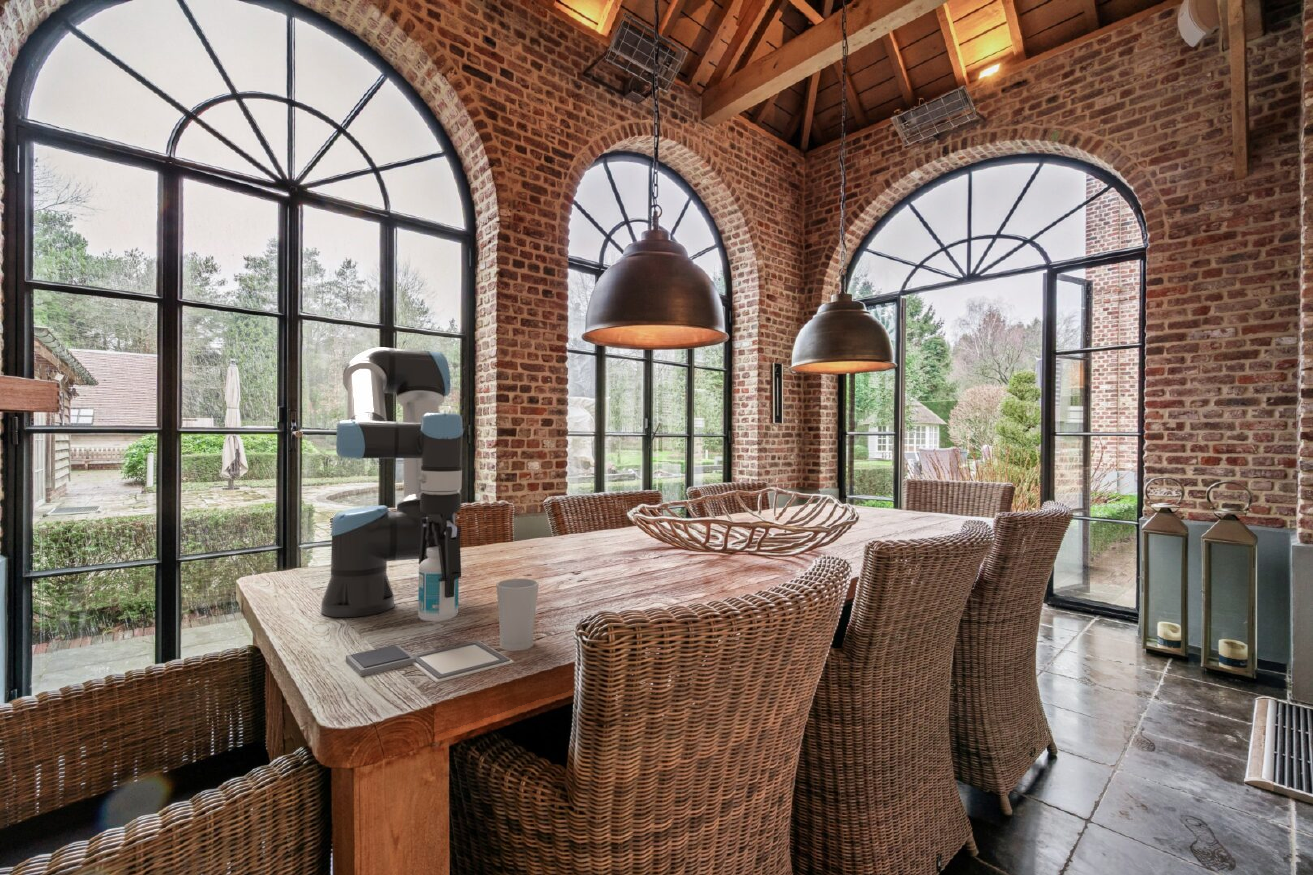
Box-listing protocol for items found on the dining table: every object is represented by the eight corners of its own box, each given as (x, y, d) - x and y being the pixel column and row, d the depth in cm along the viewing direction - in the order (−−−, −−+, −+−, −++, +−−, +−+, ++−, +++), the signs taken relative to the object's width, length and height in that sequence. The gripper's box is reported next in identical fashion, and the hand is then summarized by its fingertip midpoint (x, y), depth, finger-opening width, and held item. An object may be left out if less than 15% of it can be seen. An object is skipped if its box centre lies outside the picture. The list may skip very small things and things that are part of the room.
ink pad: (345, 660, 107) (345, 654, 107) (397, 649, 113) (397, 643, 113) (360, 676, 100) (361, 669, 100) (415, 663, 106) (415, 656, 106)
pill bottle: (465, 613, 121) (467, 546, 120) (441, 624, 114) (442, 553, 113) (435, 608, 123) (436, 542, 123) (409, 619, 116) (410, 549, 116)
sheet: (405, 658, 109) (405, 655, 109) (478, 642, 118) (478, 639, 118) (436, 682, 98) (436, 679, 98) (513, 662, 108) (513, 659, 108)
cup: (499, 638, 121) (500, 578, 121) (539, 638, 121) (540, 578, 121) (491, 652, 113) (493, 588, 113) (535, 651, 113) (536, 588, 113)
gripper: (402, 487, 123) (400, 598, 124) (443, 498, 108) (440, 625, 108) (439, 485, 128) (436, 592, 129) (482, 496, 113) (479, 617, 113)
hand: (438, 607), depth 118 cm, fingers closed on pill bottle, 7 cm apart
